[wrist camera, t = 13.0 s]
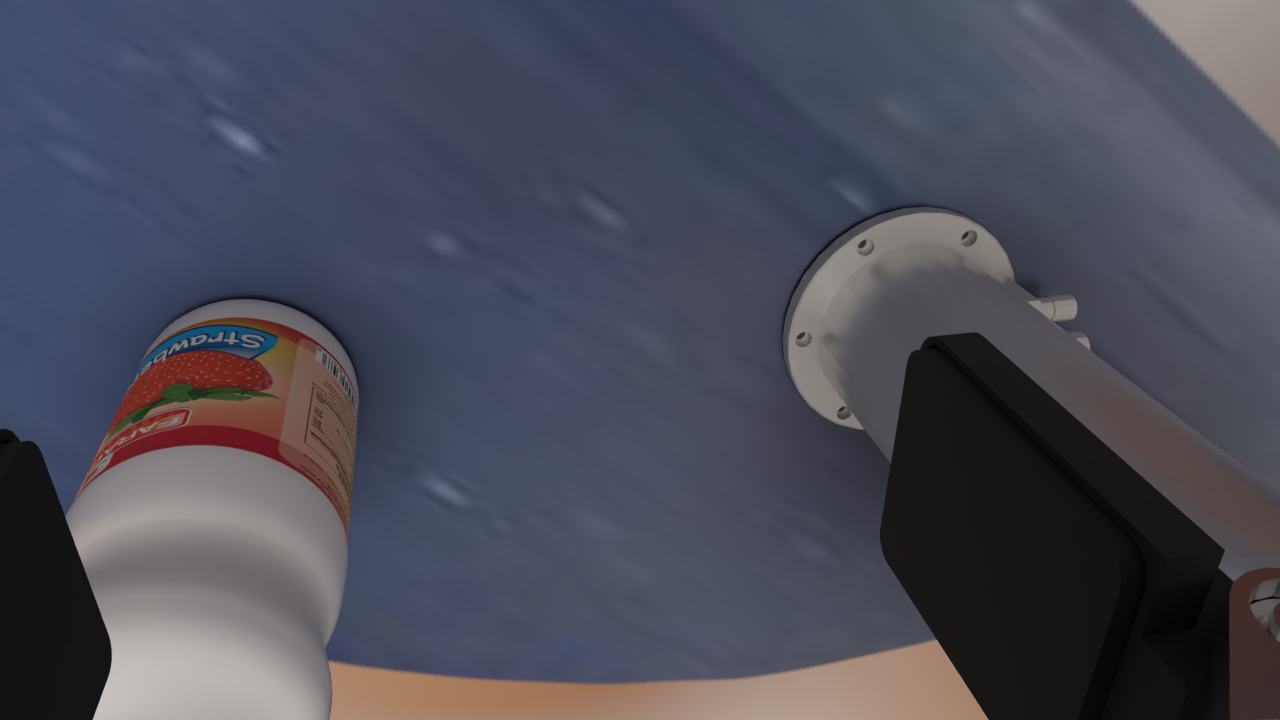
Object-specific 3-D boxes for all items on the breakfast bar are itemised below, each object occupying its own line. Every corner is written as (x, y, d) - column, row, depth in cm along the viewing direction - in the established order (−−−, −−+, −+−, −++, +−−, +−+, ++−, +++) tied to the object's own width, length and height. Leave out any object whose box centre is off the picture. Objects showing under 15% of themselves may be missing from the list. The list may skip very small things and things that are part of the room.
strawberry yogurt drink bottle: (266, 500, 47) (127, 1194, 23) (95, 387, 42) (-300, 1114, 18) (402, 381, 45) (403, 996, 22) (240, 250, 41) (13, 852, 17)
